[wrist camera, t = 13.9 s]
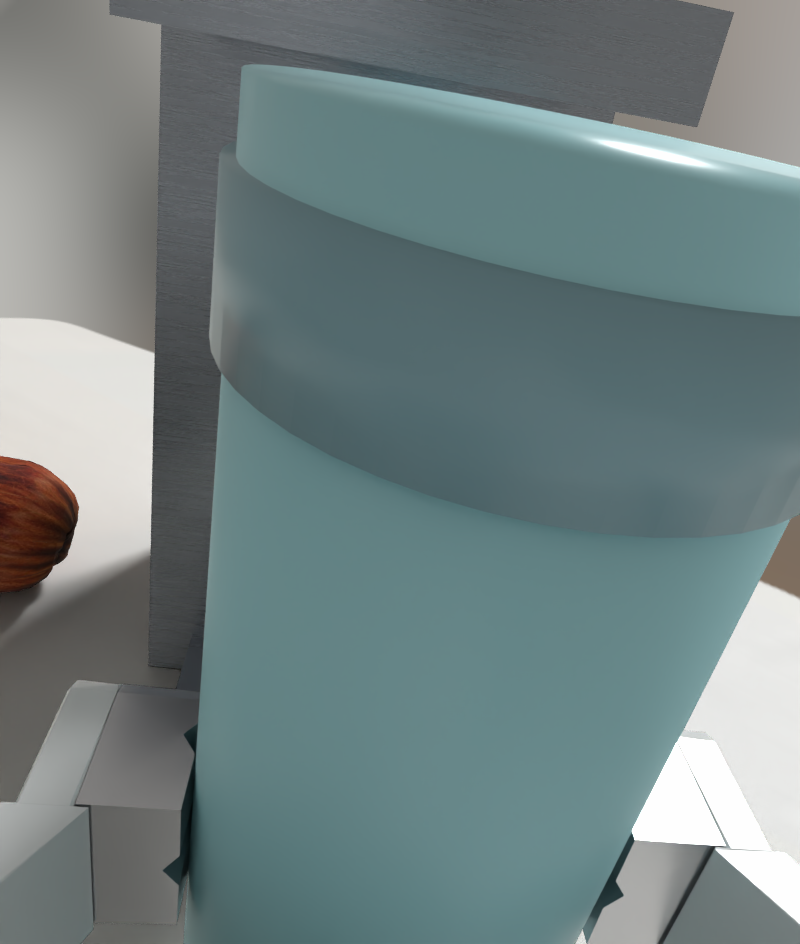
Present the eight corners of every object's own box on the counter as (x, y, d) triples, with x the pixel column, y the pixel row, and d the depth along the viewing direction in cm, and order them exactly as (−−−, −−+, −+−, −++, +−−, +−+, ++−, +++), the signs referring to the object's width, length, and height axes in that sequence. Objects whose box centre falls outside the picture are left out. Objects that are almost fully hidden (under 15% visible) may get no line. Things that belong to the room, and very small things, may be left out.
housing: (71, 879, 18) (6, -442, 8) (197, 529, 31) (231, -122, 21) (487, 906, 19) (891, -215, 9) (435, 557, 32) (575, -48, 22)
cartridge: (128, 1388, 11) (141, 79, 3) (187, 1027, 15) (263, 53, 7) (440, 1376, 12) (1201, 277, 3) (417, 1032, 16) (740, 147, 7)
